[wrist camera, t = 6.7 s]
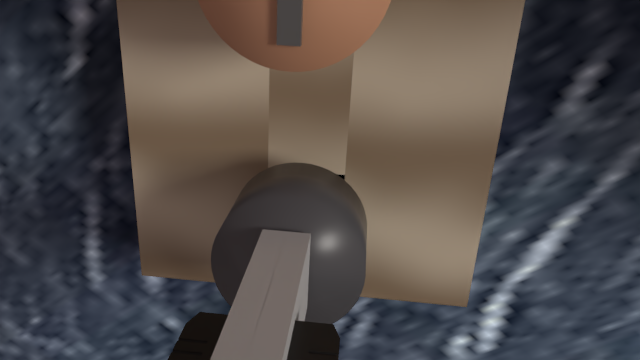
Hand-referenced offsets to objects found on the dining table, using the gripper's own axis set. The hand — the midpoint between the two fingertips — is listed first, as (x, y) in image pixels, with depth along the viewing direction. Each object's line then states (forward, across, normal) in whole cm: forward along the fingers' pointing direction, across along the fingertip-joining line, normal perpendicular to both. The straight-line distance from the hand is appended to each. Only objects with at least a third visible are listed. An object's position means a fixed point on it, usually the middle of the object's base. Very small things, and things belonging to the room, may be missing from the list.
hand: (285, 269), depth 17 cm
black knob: (+7, 0, 0) cm, 7 cm away
